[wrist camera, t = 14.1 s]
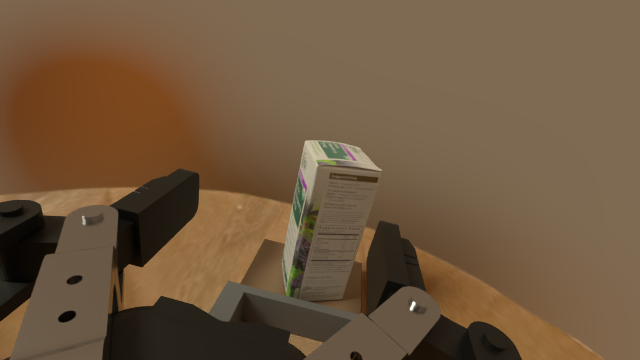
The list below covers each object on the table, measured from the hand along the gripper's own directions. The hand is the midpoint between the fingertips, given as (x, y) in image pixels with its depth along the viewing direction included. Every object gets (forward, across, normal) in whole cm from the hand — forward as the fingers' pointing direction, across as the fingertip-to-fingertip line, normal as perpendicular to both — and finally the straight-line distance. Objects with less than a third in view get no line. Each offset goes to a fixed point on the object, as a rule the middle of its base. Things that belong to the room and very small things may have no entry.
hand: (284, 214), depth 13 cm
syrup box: (+13, -2, +16) cm, 20 cm away
